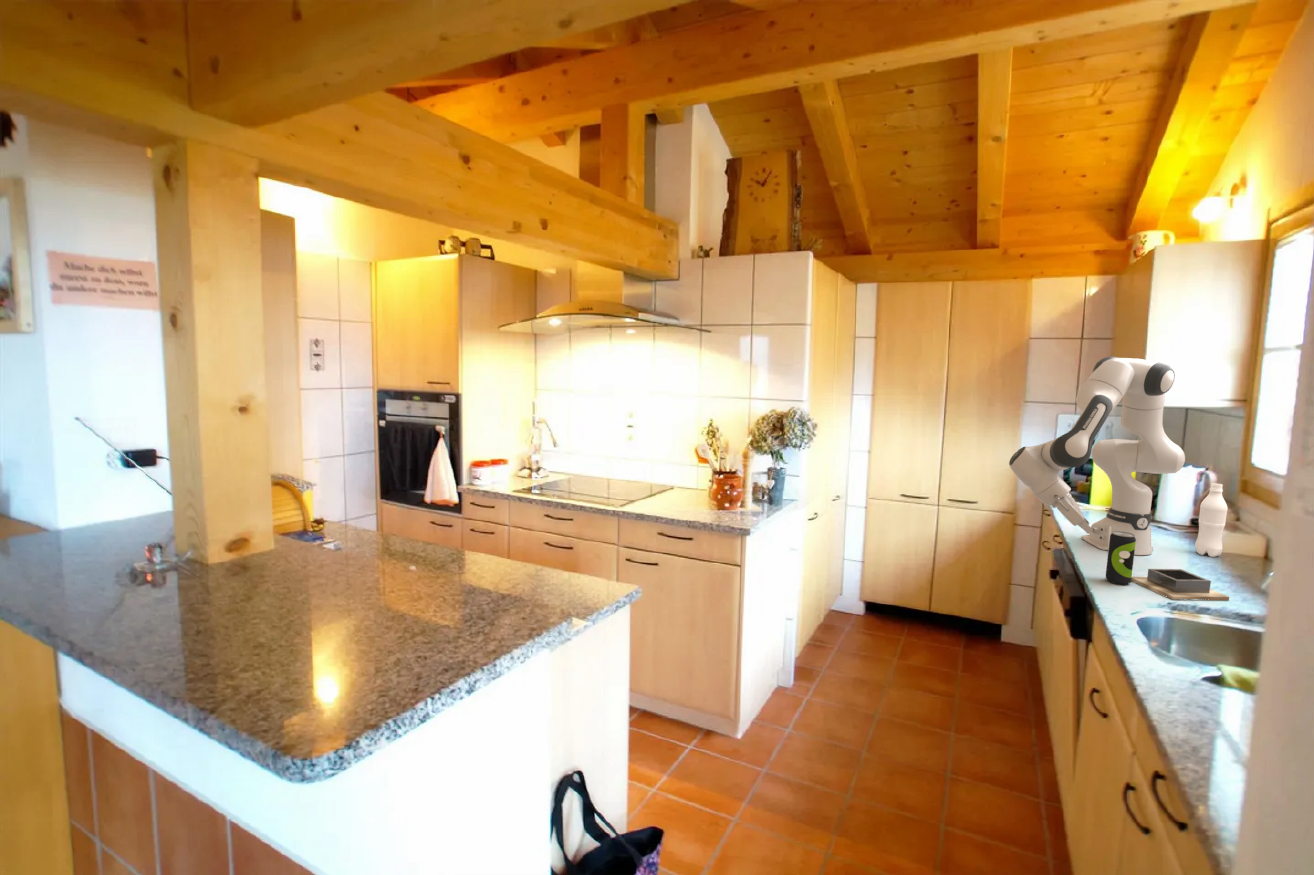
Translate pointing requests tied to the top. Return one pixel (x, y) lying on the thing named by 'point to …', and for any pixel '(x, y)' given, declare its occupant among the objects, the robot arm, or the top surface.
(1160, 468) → the robot arm
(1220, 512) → the water bottle
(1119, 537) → the beverage can
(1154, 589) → the docking plate
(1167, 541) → the top surface
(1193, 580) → the gray open box
